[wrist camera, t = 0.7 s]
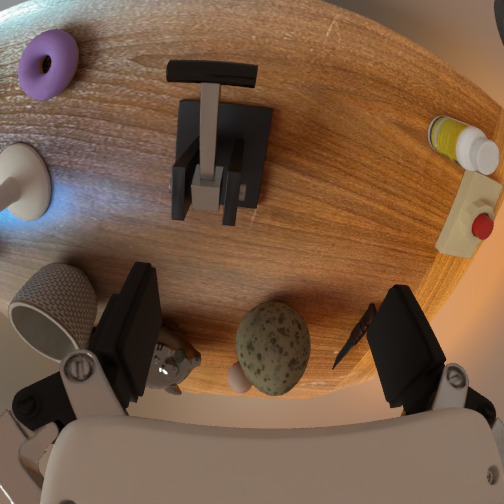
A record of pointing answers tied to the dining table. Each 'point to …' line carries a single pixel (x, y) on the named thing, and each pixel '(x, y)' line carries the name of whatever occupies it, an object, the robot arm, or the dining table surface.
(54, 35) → the donut
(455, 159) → the supplement bottle
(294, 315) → the decorative egg
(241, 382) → the egg
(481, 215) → the button
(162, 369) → the piggy bank
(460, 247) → the power block
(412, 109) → the dining table surface
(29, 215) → the candlestick
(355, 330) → the knife
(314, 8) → the dining table surface
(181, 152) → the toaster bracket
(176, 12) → the dining table surface
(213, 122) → the lever
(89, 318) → the planter
